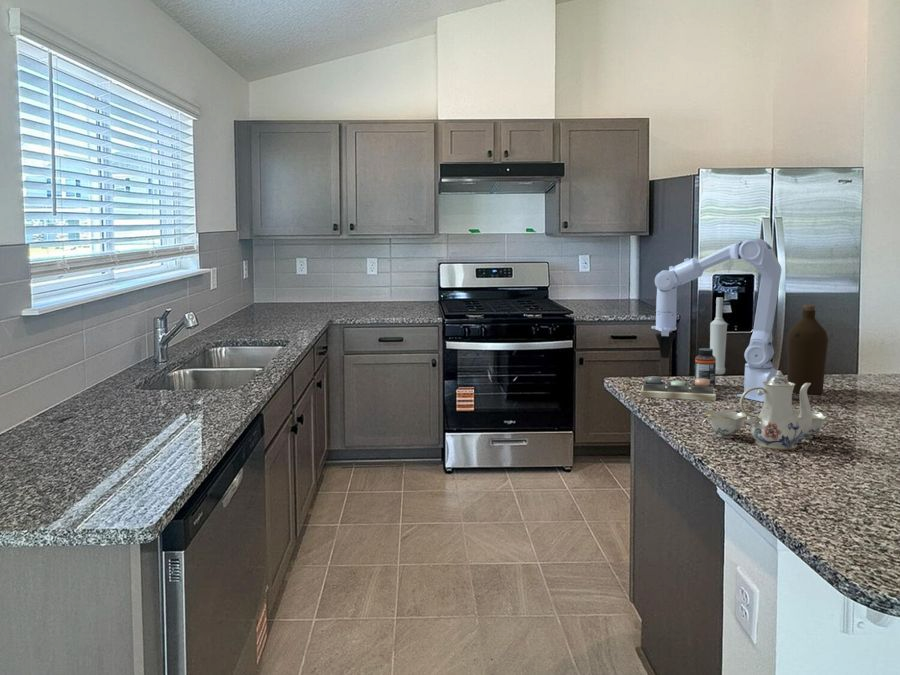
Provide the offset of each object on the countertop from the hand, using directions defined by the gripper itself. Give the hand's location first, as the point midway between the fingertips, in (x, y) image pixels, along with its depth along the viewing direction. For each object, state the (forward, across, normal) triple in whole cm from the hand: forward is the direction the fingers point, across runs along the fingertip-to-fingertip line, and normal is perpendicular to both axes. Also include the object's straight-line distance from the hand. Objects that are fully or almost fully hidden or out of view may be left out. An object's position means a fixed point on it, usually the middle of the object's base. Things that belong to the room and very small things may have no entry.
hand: (664, 357), depth 227 cm
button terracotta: (+6, +9, +10) cm, 15 cm away
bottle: (+10, -33, +16) cm, 38 cm away
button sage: (+8, +9, +4) cm, 12 cm away
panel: (+9, +9, +4) cm, 13 cm away
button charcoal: (+6, +9, -3) cm, 11 cm away
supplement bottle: (+10, -8, +12) cm, 17 cm away
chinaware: (+10, +55, +24) cm, 60 cm away
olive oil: (+10, -6, +39) cm, 41 cm away
